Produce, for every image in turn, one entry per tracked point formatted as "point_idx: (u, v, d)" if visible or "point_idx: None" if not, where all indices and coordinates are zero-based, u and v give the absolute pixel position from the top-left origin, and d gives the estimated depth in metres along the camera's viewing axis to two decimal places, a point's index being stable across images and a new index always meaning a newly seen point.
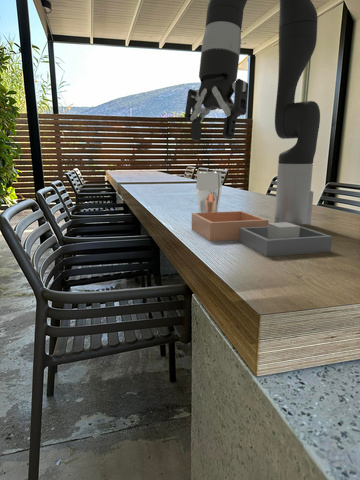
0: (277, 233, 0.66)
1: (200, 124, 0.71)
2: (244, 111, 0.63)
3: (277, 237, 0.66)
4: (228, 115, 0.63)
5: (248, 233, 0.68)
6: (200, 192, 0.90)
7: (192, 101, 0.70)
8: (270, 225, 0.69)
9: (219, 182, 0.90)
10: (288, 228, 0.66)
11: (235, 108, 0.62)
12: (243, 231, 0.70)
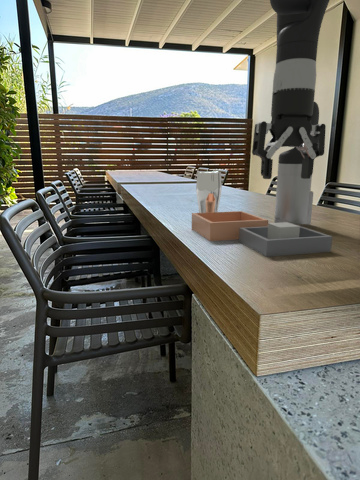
0: (277, 233, 0.66)
1: None
2: None
3: (277, 237, 0.66)
4: (313, 158, 0.65)
5: (248, 233, 0.68)
6: (200, 192, 0.90)
7: None
8: (270, 225, 0.69)
9: (219, 182, 0.90)
10: (288, 228, 0.66)
11: (321, 152, 0.65)
12: (243, 231, 0.70)
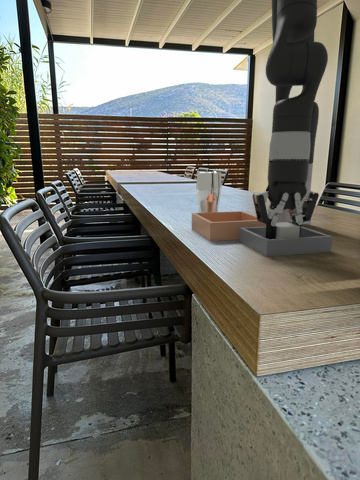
0: (277, 233, 0.66)
1: None
2: None
3: (277, 237, 0.66)
4: (300, 223, 0.68)
5: (248, 233, 0.68)
6: (200, 192, 0.90)
7: None
8: None
9: (219, 182, 0.90)
10: (288, 228, 0.66)
11: (308, 218, 0.68)
12: (243, 231, 0.70)
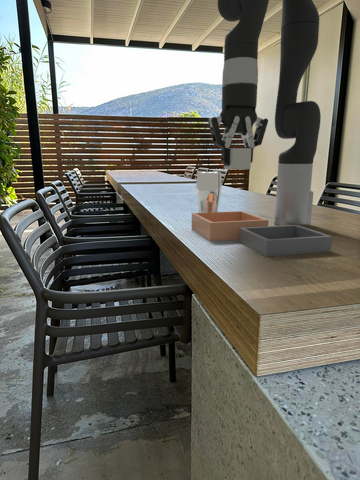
0: (231, 154, 0.73)
1: None
2: None
3: (231, 158, 0.74)
4: (252, 147, 0.75)
5: (248, 233, 0.68)
6: (200, 192, 0.90)
7: None
8: None
9: (219, 182, 0.90)
10: (240, 149, 0.73)
11: (259, 142, 0.75)
12: (243, 231, 0.70)
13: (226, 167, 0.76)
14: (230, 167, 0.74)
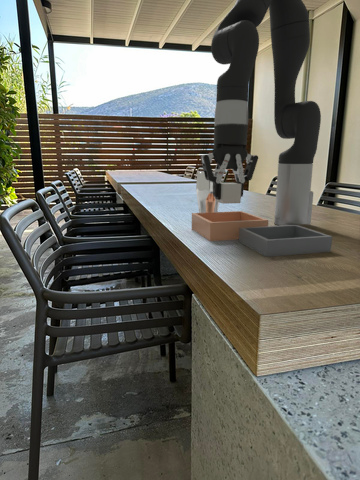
0: (222, 189, 0.77)
1: None
2: None
3: (221, 193, 0.77)
4: (242, 182, 0.78)
5: (248, 233, 0.68)
6: (200, 192, 0.90)
7: None
8: None
9: None
10: (231, 185, 0.77)
11: (249, 177, 0.78)
12: (243, 231, 0.70)
13: (217, 200, 0.80)
14: (221, 201, 0.78)
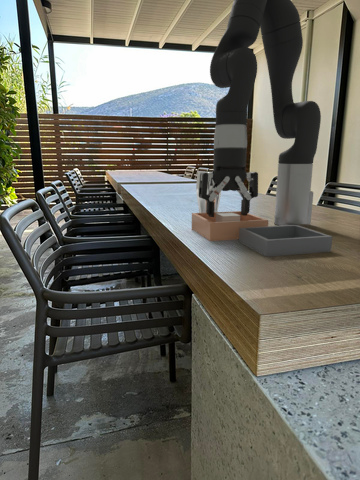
0: (221, 221, 0.79)
1: None
2: None
3: None
4: (249, 199, 0.80)
5: (248, 233, 0.68)
6: None
7: None
8: (217, 215, 0.81)
9: None
10: (230, 217, 0.78)
11: (255, 194, 0.80)
12: (243, 231, 0.70)
13: None
14: None
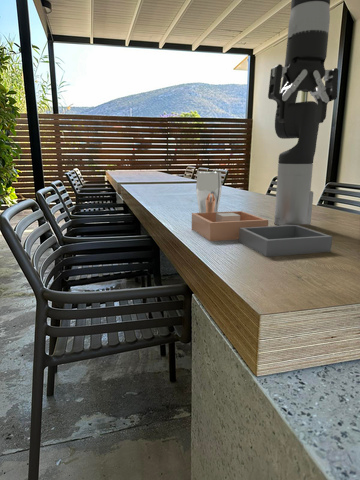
0: (221, 221, 0.79)
1: None
2: None
3: None
4: (327, 101, 0.68)
5: (248, 233, 0.68)
6: (200, 192, 0.90)
7: None
8: (217, 215, 0.81)
9: (219, 182, 0.90)
10: (230, 217, 0.78)
11: (334, 96, 0.68)
12: (243, 231, 0.70)
13: None
14: None
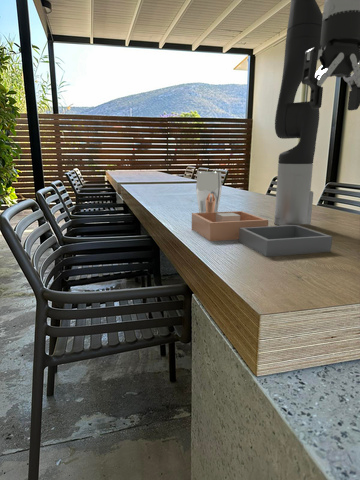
0: (221, 221, 0.79)
1: None
2: None
3: None
4: None
5: (248, 233, 0.68)
6: (200, 192, 0.90)
7: None
8: (217, 215, 0.81)
9: (219, 182, 0.90)
10: (230, 217, 0.78)
11: None
12: (243, 231, 0.70)
13: None
14: None
